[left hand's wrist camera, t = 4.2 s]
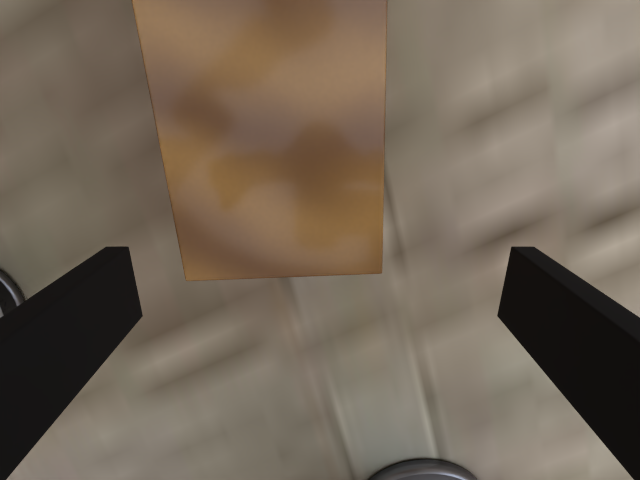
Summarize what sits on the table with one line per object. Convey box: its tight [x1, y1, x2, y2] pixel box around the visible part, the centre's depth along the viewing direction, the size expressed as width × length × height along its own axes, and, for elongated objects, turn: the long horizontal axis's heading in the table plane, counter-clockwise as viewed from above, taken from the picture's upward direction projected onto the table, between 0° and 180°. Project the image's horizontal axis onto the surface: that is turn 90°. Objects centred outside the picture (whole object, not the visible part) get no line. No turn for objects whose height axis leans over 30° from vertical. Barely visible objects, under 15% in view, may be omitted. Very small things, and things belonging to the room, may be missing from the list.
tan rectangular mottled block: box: [132, 0, 387, 281], centre depth 22 cm, size 17×11×11 cm, turn 2°
